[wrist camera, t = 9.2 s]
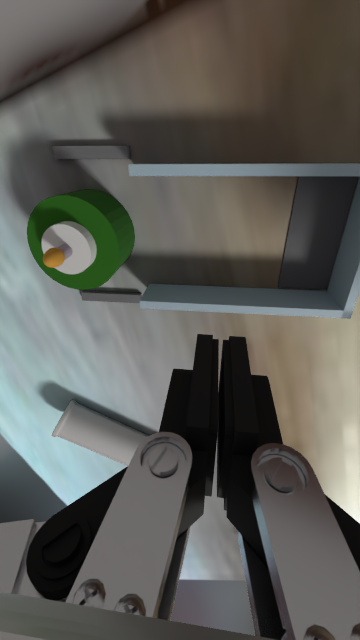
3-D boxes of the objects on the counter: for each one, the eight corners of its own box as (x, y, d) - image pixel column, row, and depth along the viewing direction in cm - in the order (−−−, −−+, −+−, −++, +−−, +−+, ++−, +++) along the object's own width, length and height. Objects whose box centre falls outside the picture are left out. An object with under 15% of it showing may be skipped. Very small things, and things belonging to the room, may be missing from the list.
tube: (217, 480, 42) (63, 412, 38) (199, 505, 43) (47, 442, 39) (211, 455, 47) (75, 393, 43) (195, 478, 48) (60, 420, 44)
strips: (129, 145, 25) (127, 145, 24) (141, 300, 32) (140, 303, 32) (55, 146, 26) (52, 146, 25) (84, 298, 33) (82, 300, 33)
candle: (49, 247, 31) (-16, 281, 22) (69, 172, 27) (-1, 177, 18) (118, 282, 32) (82, 328, 23) (147, 216, 28) (116, 241, 19)
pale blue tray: (373, 163, 23) (404, 163, 20) (332, 297, 30) (350, 318, 26) (141, 163, 25) (128, 164, 22) (149, 290, 32) (140, 308, 28)
